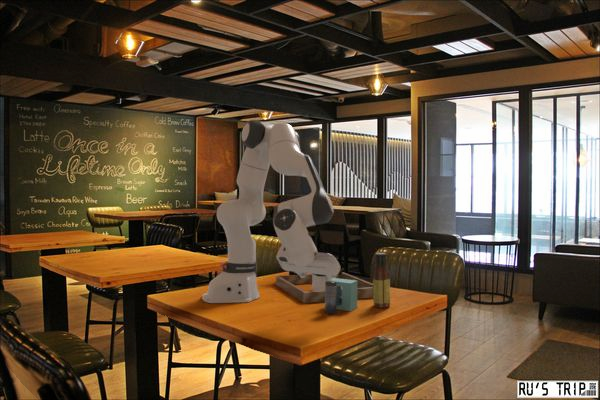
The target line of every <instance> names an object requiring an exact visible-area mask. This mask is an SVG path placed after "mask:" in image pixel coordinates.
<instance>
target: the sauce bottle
mask: <svg viewBox="0 0 600 400" xmlns="http://www.w3.org/2000/svg"><path fill="white" fill-rule="evenodd" d="M374 257H375V266H374V269H373V271H372V284H373V298H372V299H373V306H375V308H381V309H386V308H389V307H390V306H391V279H390V269H389V268H388V266H387V253H386V252H375V254H374Z"/></svg>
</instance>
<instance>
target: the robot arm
mask: <svg viewBox="0 0 600 400" xmlns="http://www.w3.org/2000/svg"><path fill="white" fill-rule="evenodd" d="M241 143H242V144H243V146H245V147H246V148H245V150H244V153H243V155H242V159H241V161H240V162H241V163H240V166H239V169H238V173H237V176H236V180H235V181H236V184H237V186H238V190H239V192H238V193H239V194H238V199H236V198H235V199H228V200H226V201H224V202H223V203H221V204H220V205H219V206H218V207H217V211H216V217H217V221H218V223H219V224H220V225H221V226H222V228H223V230H224V233H225V237H226V241H227V261H226V262H224V261H221V262H220V263H219V266H220V267H221V268H222V272H220V273H219V274H217V276H216V277H214V278H213V279H212V280H211V281H209V284H208V288H207V292H206V293H203V294H202V295H201V300H202V301H203V302H205V303H209V304H230V303H231V304H233V303H250V302H251V301H254V300H256V299H257V300H258V299H259V298H260V293H259V290H258V289H259V288H258V283H257V275H258V263H257V259H256V258H257V256H256V255H257V252H256V251H257V244H256V243H257V242H256V240H255V239H254V238H253V236H252V233H251V229H250V227H253V226H255V225H257V224H260V223H261V222H263V220H265V218H266V214H267V210H266V207H265V204H264V189H265V185H266V180H267V176H268V172H269V171H270V166H271V168H272V169H273V170H274V171H275V172H277V173H278V174H280V175H283V176H288V177H289V176H290V177H292V176H296V177H303V178H306V179H307V182H308V185H309V187H310V190H311V192H310V193H309V194H307V195H303V196H300V197H296V198H293V199H289V200H286V201H285V200H284V201H282V202H279V203H278V204H277V206H276V207H275V209H274V212H273V215H272V220H273V221H272V223H273V224H272V225H273V227H274V230H275V233H276V235H277V238H278V240H279V241H280V243H281V245H280V246H279V249H278V251H277V254H276V255H275V258H276V260H277V262H278V263H279V265H280V267H281V269H283V270H284V271H286V272H289V271H294V272H295V273H297V274H298V275H300V277H301V278H306V276H307V274H320V275H326V277H325V279H326V281H331V280H332V276H337V275H338V273H339V271H340V270H341V265H340V263H339V261H338V259H337V258H336V257H335V256H334V255H333V254H331V253H327V252H318V249H317V246H316V245H315V243H314V241H313V238H312V236H310V235H309V230H308V228H309V227H312V226H315V225H323V224H328V223H329V222H330V220H331V219H332V217H333V216H334V213H335V212H334V211H335V210H334V206H333V201H332V200H331V198H330V196H329V195H328V194H327V192H326V188H325V187H324V185H323V181H322V179H321V177H320V175H319V173H318V170H317V168H316V166H315V163H314V161H313V160H312V158H311V157H310V155H309V154H306V153H305V154H304V153H303V152H302V151H301V148H300V136H299V134H298V132H297V131H295V128H294V127H293V126H292V125H291V124H289V123H286V122H279V123H270V122H266V121H260V120H257V119H249V120H248V121H246V123H245V124H244V126H243V128H242V131H241ZM306 273H307V274H306Z"/></svg>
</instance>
